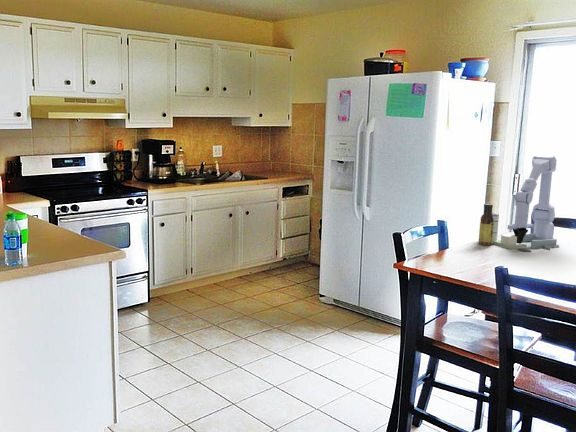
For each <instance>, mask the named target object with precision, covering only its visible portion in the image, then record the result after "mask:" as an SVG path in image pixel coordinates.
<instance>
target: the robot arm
mask: <svg viewBox="0 0 576 432" xmlns="http://www.w3.org/2000/svg"><path fill="white" fill-rule="evenodd" d="M531 166H532V169H531V171H530V174H529V176H528V178H527V179H525V180H524V182H523V184H522V186H521V187H520V190H518V191H517V192H516V193H515V195H514V201H515V205H514V206H515V216H514V223H511V224H507V230H510V231H511V230H512V232H513V235H515V236H516V237H517V242H516V244H523V242H524V241H523V238H524V236H525V235H526V234H528V232H529V229H533V233H532V234H535V236H538V237H542V238H545V239H555V238H554V234H555V233H554V232H555V225H554V223H553V222H554V220H555V217H556V213H555V207H554V206H553V205H552V204H550V198H551V197H550V196H551V188H552V187H551V186H552V180H553V179H552V176H553V172H555V171H556V170H557V158H556V157H555V155H541V154H535V155H534V156H533V157H532V159H531ZM539 177H540V185H539V195H538V203H537V204H535V205H534V206H533V207H532V211H531V218H532V220H533V222H534V223H529V222H528V220H529V211H530V205H531V203H532V202H533V198H534V192H535V189H536V187H537V185H538V183H537V180H538V179H539ZM522 241H523V242H522Z"/></svg>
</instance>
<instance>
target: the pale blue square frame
mask: <svg viewBox="0 0 576 432" xmlns="http://www.w3.org/2000/svg"><path fill="white" fill-rule="evenodd" d="M511 235H512V236H515V234H511ZM557 240H558V238H557V239H556V238H554V239H545V238H542V237H538V236H535V234H533V233H526V235H525V236H524V238H523V241H522V243H523V242H531V243H530V248H531V249H538V248H541V247H542V246H548V245H557V242H558V241H557ZM541 249H542V248H541Z"/></svg>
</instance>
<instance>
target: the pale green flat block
mask: <svg viewBox="0 0 576 432" xmlns="http://www.w3.org/2000/svg"><path fill="white" fill-rule="evenodd" d="M492 245H495V246H498V247H501V248H505V249H509V250H512V249H514V250H515V249H527V246H528V244H526V243H521V244H518V243H516V245H507V244H504V243H501V239H500V240H498V239H497V241H493V242H492Z"/></svg>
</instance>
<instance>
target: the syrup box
mask: <svg viewBox="0 0 576 432" xmlns="http://www.w3.org/2000/svg"><path fill="white" fill-rule="evenodd" d="M492 215H493V219H494V227H493V238H492V243H493V241H498V231H499V220H500V219H499V218H500V214H499V213H497V212H495V211H492Z"/></svg>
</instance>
